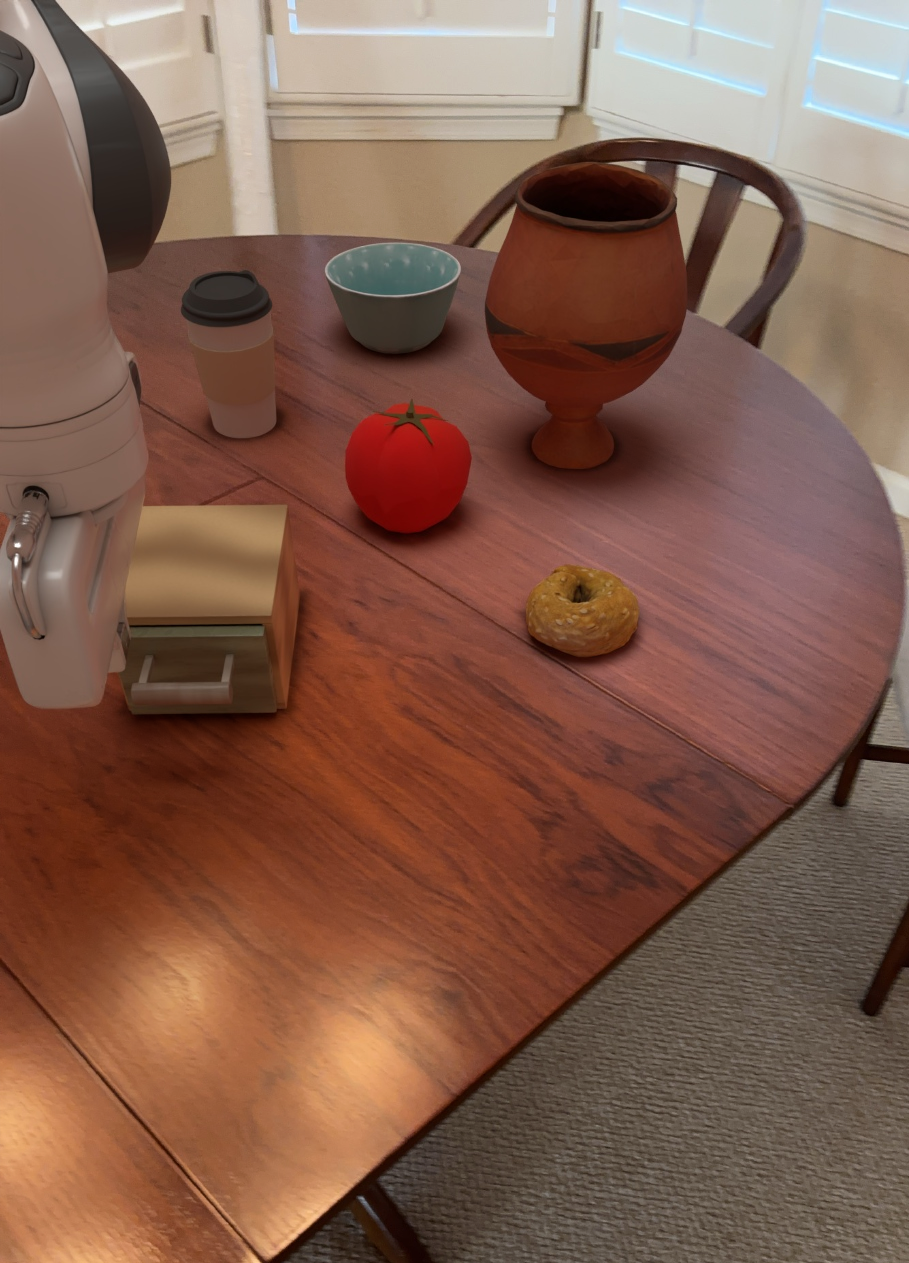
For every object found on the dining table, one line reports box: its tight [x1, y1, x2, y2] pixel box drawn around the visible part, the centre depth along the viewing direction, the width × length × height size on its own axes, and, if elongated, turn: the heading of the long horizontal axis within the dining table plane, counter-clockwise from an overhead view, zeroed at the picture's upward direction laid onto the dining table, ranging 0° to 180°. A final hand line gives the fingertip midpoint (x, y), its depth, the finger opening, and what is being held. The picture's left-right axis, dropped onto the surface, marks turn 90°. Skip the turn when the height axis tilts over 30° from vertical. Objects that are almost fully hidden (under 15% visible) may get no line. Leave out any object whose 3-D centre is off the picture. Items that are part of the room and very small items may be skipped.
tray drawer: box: [119, 624, 278, 715], centre depth 84 cm, size 18×11×8 cm, turn 1°
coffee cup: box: [180, 269, 277, 439], centre depth 110 cm, size 9×9×15 cm
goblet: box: [484, 161, 688, 470], centre depth 103 cm, size 19×19×25 cm
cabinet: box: [116, 504, 301, 712], centre depth 87 cm, size 15×13×10 cm
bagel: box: [525, 564, 640, 658], centre depth 91 cm, size 10×11×5 cm
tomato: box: [344, 397, 473, 534], centre depth 100 cm, size 12×12×11 cm
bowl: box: [324, 242, 462, 355], centre depth 126 cm, size 16×16×8 cm
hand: (114, 656), depth 62 cm, fingers closed
